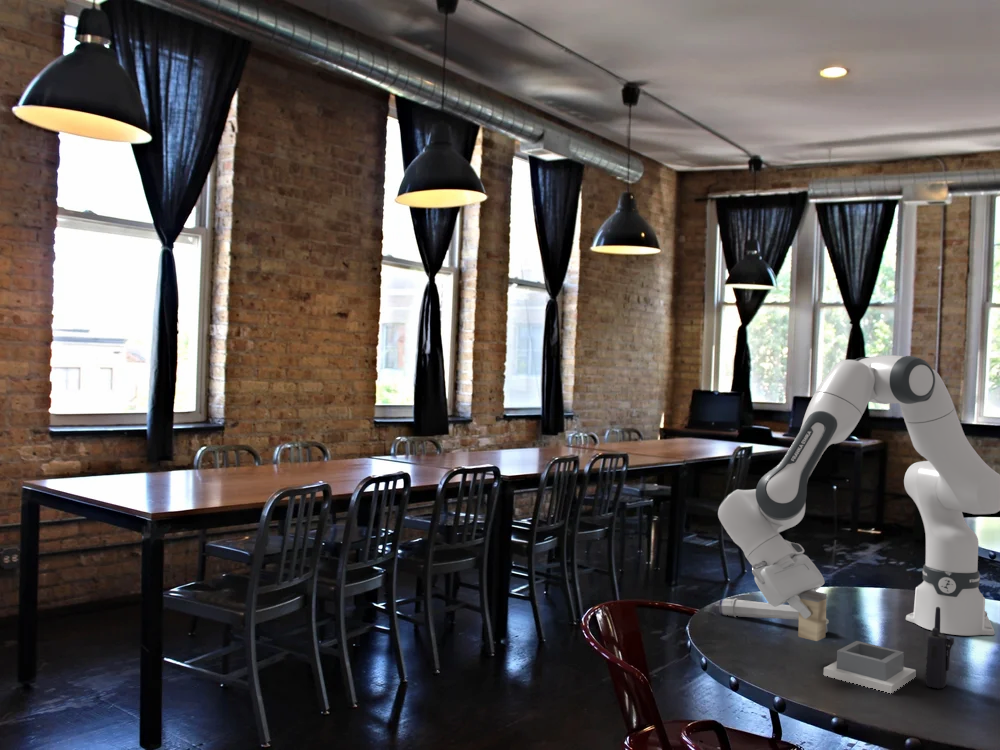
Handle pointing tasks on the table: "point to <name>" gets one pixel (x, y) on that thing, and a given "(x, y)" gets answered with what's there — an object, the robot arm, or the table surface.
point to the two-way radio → (937, 655)
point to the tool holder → (870, 667)
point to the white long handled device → (757, 610)
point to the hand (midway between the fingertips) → (815, 613)
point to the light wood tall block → (813, 616)
